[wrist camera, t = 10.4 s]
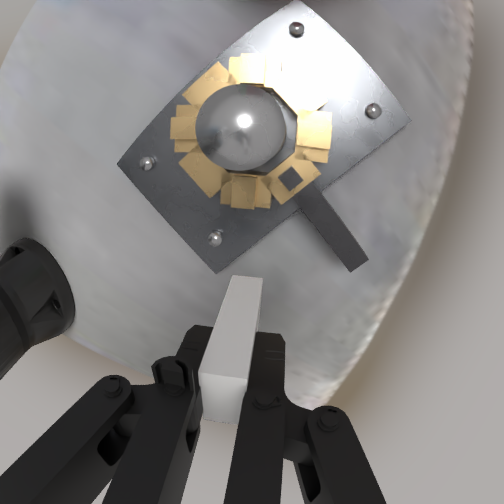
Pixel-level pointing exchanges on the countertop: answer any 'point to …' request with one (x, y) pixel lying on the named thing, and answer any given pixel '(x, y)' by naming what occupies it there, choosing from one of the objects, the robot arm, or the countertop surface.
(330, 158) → the flange
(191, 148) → the ring nut
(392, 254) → the countertop surface
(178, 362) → the robot arm
